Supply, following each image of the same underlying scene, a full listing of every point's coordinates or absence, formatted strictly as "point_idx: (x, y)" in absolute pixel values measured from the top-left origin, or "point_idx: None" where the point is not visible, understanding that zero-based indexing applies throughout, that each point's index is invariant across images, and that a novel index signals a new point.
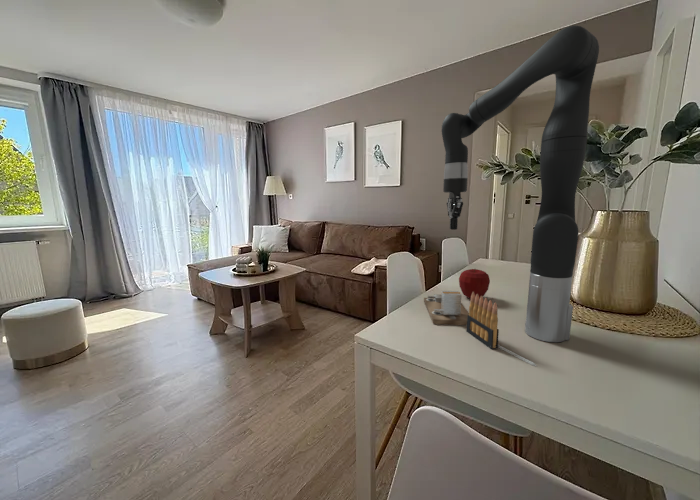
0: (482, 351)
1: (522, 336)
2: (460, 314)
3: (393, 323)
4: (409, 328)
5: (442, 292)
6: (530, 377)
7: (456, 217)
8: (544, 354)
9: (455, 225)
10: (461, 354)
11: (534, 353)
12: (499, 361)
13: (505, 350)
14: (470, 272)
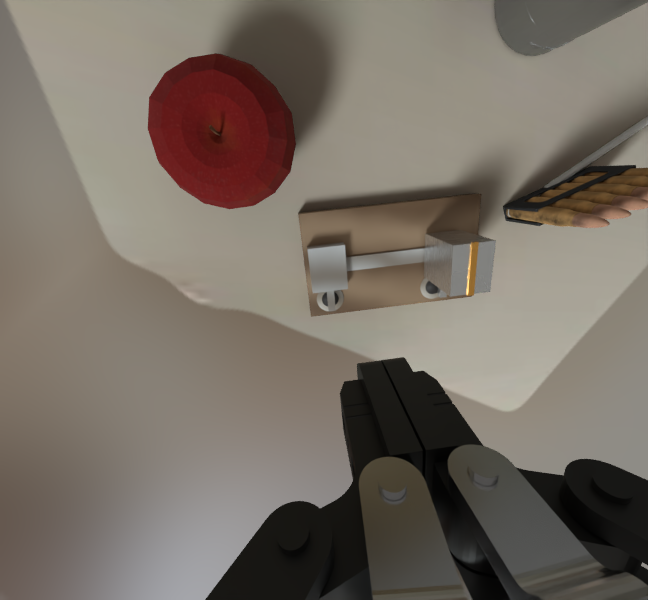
0: None
1: (543, 75)
2: (439, 225)
3: (461, 369)
4: (486, 338)
5: (460, 294)
6: None
7: (535, 483)
8: (632, 58)
9: (442, 399)
10: (601, 247)
11: (624, 83)
12: None
13: (606, 152)
14: (247, 160)
